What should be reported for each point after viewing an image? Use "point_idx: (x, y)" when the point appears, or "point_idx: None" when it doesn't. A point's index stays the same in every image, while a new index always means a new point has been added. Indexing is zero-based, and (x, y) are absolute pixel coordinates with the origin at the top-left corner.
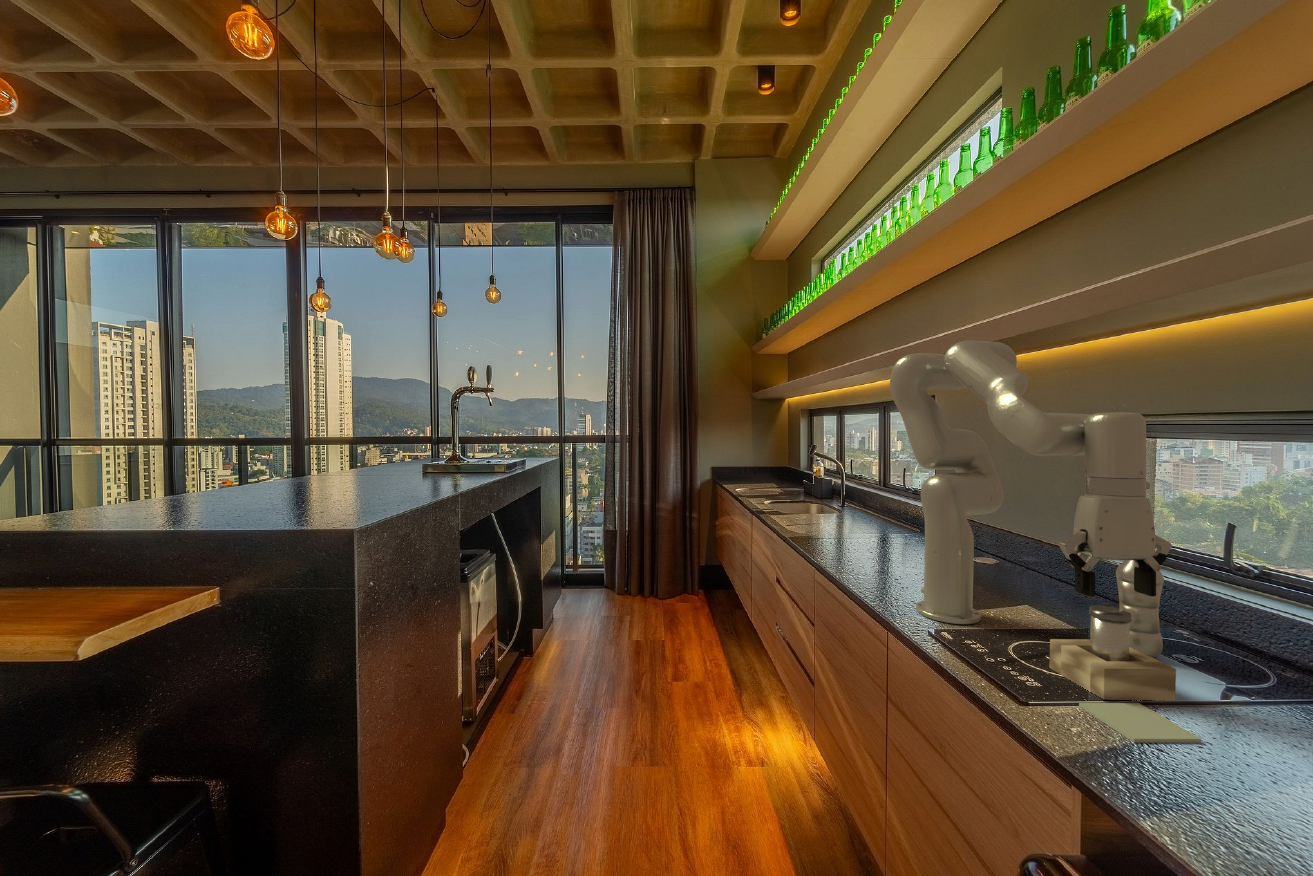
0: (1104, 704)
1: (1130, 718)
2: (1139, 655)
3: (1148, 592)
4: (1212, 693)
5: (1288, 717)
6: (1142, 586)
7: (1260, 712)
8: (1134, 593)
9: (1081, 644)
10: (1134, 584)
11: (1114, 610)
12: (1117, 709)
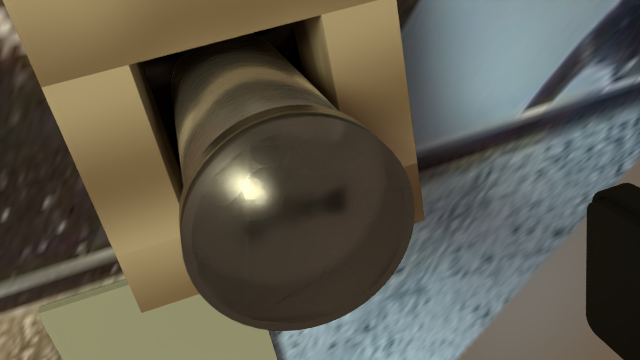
0: (122, 295)
1: (161, 353)
2: (376, 118)
3: (604, 320)
4: (537, 70)
5: (603, 172)
6: (632, 299)
7: (561, 165)
8: None
9: (165, 42)
10: (632, 227)
11: (341, 212)
12: (149, 315)
